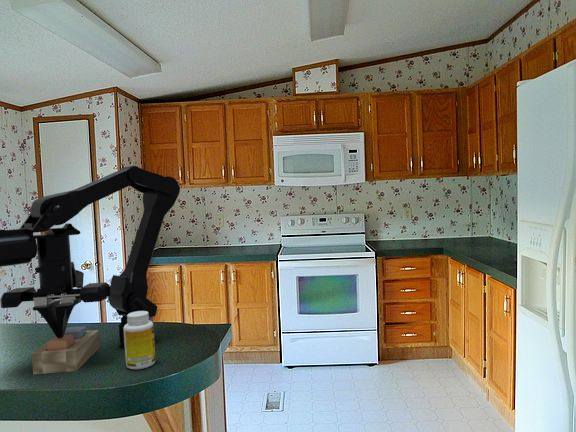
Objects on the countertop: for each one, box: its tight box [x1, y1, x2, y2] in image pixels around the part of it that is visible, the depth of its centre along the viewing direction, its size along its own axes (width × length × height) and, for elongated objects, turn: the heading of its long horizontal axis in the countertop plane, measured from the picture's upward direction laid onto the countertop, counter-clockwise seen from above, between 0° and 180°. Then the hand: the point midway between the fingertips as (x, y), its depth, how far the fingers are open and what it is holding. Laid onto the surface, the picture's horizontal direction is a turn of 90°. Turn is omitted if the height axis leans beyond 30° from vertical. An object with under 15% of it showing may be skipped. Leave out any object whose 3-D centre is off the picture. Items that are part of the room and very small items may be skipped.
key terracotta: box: [46, 335, 74, 351], centre depth 86 cm, size 4×4×3 cm
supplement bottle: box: [123, 311, 157, 370], centre depth 84 cm, size 6×6×10 cm
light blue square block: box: [64, 325, 87, 339], centre depth 92 cm, size 4×4×3 cm
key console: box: [31, 329, 101, 375], centre depth 89 cm, size 8×13×4 cm, turn 5°
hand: (60, 337), depth 86 cm, fingers closed
